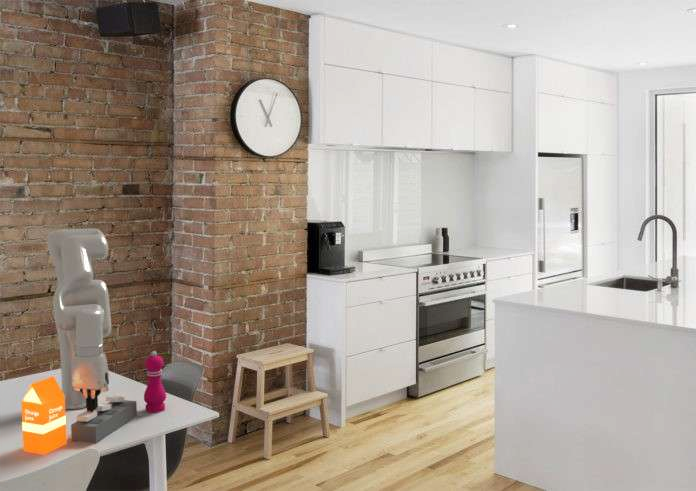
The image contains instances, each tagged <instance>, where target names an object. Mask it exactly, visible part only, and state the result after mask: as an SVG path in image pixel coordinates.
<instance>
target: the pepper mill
mask: <svg viewBox="0 0 696 491" xmlns="http://www.w3.org/2000/svg"><path fill="white" fill-rule="evenodd" d="M163 367H164V359H163V357H161V356H160V355H158V353H157V351H156V350H153V351H152V352H151V353H150V355H149V356H148V357H147V358H146V359H145V360H144V368H146V375H147V379H148V380H147V381H148V382H147V386H146V389H145V391H144V392H143V393H144V395H143V400H144V402H145V403H146V404H145V412H147V413H151V414H153V413H160V412H163V411H164V410H166V404H165V401H166V399H167V393H166V390H165V388H164V386H163V384H162V378H161V377H162V375H163V369H162V368H163Z"/></svg>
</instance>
